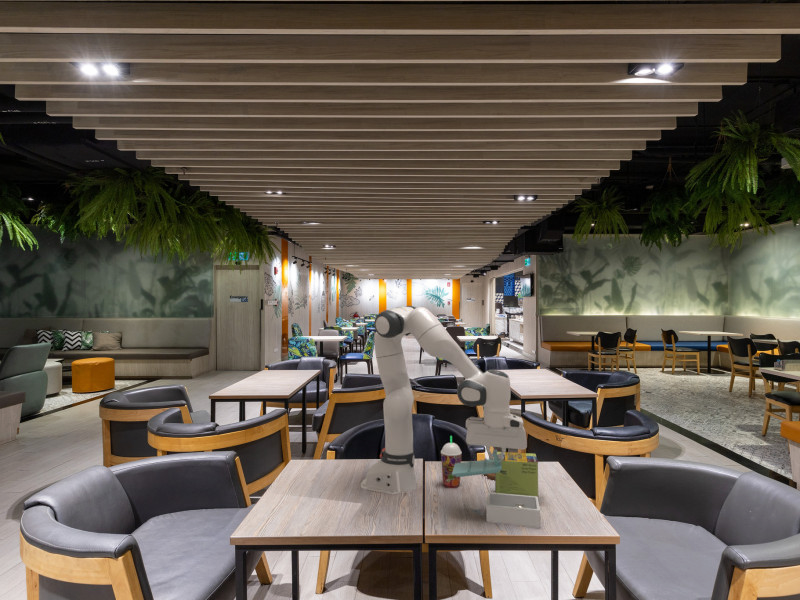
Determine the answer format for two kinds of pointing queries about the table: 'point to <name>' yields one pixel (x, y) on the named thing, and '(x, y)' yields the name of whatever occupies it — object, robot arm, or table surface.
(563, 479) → the table surface
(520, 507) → the ball
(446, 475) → the smoothie
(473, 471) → the lid
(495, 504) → the tub
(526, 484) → the protein box
